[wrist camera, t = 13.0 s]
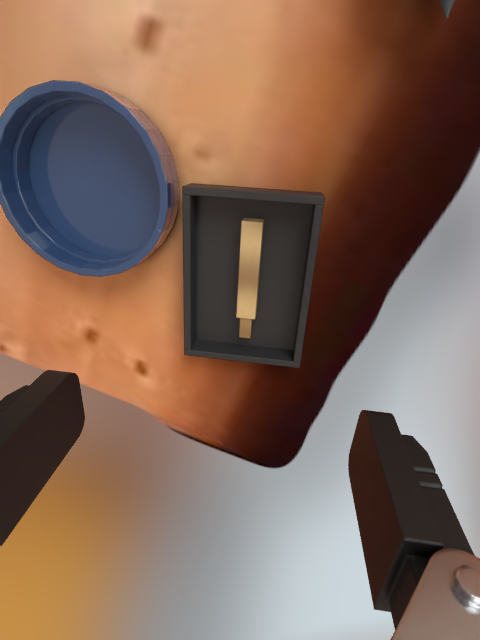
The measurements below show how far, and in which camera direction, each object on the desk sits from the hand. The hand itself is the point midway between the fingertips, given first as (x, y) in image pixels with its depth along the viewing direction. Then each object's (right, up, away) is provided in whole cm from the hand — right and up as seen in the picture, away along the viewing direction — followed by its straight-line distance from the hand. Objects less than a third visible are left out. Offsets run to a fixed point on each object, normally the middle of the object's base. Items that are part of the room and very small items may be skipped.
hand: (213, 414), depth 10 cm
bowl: (-10, +14, +19) cm, 26 cm away
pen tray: (+2, +6, +21) cm, 22 cm away
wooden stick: (+2, +6, +20) cm, 21 cm away
